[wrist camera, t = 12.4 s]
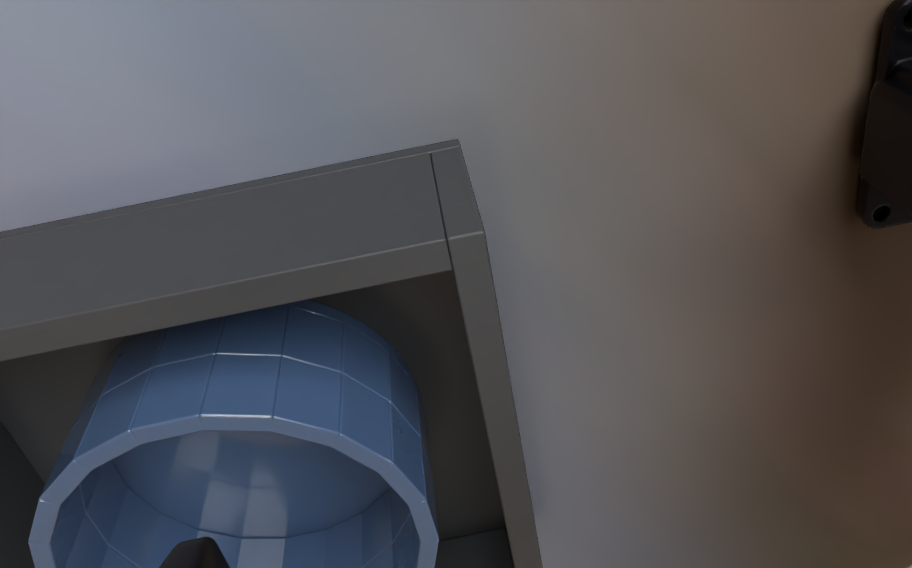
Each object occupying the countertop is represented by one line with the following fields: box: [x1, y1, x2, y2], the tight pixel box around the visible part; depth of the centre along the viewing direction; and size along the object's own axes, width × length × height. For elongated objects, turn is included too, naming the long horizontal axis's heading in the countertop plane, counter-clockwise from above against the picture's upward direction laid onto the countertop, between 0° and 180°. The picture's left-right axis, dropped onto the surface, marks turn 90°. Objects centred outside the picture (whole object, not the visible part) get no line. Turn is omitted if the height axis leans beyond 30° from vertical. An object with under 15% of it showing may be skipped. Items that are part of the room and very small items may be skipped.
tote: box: [0, 139, 543, 568], centre depth 22 cm, size 16×16×5 cm
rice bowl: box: [28, 300, 439, 568], centre depth 21 cm, size 10×10×5 cm
